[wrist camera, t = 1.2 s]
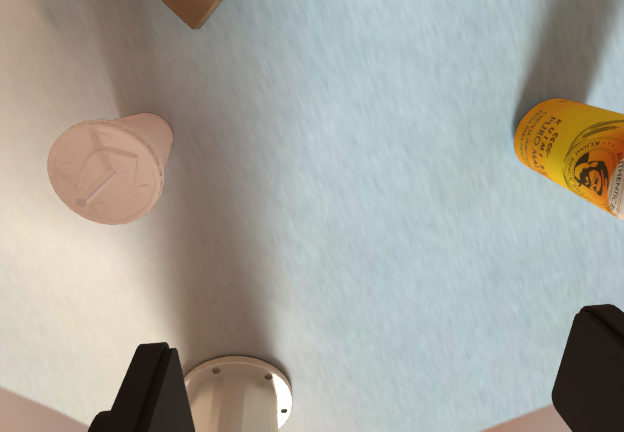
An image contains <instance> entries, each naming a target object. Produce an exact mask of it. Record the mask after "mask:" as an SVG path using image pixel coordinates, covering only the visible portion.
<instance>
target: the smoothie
mask: <svg viewBox="0 0 624 432" xmlns="http://www.w3.org/2000/svg"><path fill="white" fill-rule="evenodd" d="M172 143H173V134H172V131H171V129H170V127H169V125H168V124H167V123H166V122H165V121H164V120H163V119H162V118H161V117H159V116H157V115H155V114H151V113H140V114H136V115H132V116H128V117H124V118H120V119H116V120H112V121H107V120H92V121H85V122H82V123H80V124H77V125H75V126H73V127H71V128H70V129H69V130H68V131H66V132H65V133H63V134H62V135H61V136H60V137H59V138H58V139H57V140H56V141H55V143H54V144H53V146H52V148H51V150H50V153H49V157H48V174H49V179H50V182H51V184H52V186H53V188H54V190H55V192H56V194H57V195H58V196H59V198H60V199H61V200H62V201H63V202H64V203H65V204H66V205H67V206H68V207H69V208H70V209H71V210H73V211H74V212H75V213H77V214H79V215H80V216H82V217H84V218H86V219H89V220H91V221H94V222H98V223H102V224H110V225H116V224H125V223H129V222H132V221H135V220H137V219H139V218H141V217H142V216H144V215H145V214H146V213H147V212H148V211H149V210H150V209H151V208H152V207H153V206H154V205H155V203H156V202H157V201H158V199H159V198H160V196H161V193H162V190H163V187H164V168H165V165H166V162H167V159H168V156H169V153H170V150H171V147H172Z"/></svg>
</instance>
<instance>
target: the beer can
mask: <svg viewBox="0 0 624 432" xmlns="http://www.w3.org/2000/svg"><path fill="white" fill-rule="evenodd" d="M514 149H515V153H516V155H517V157H518V159H519V160H520V161H521V162H522V163H523V164H524V165H526V166H528V167H529V168H531V169H533V170H535V171H536V172H538V173H540V174H542V175H543V176H545V177H547V178H549V179H550V180H552V181H554V182H556V183H557V184H559V185H561V186H563V187H565V188H566V189H568V190H570V191H572V192H573V193H575V194H577V195H579V196H580V197H582V198H584V199H586V200H587V201H589V202H591V203H593V204H594V205H596V206H598V207H600V208H602V209H603V210H605V211H607V212H609V213H610V214H612V215H614V216H616V217H617V218H619V219H621V220H623V221H624V114H621V113H617V112H613V111H609V110H605V109H602V108H598V107H594V106H590V105H586V104H583V103H579V102H575V101H571V100H567V99H562V98H555V99H550V100H546V101H544V102H542V103H540V104H538V105H536V106H535V107H533V108H532V109H531V110H530V111H529V112H528V113H527V114H526V115H525V116H524V117H523V119H522V120H521V122H520V123H519V125H518V127H517V130H516V133H515V137H514Z"/></svg>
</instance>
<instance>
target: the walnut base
mask: <svg viewBox="0 0 624 432" xmlns="http://www.w3.org/2000/svg"><path fill="white" fill-rule="evenodd" d="M162 1H163V2H164V3H165V4H166V5H167V6H168V7H169V8H170V9H171V10H172V11H173V12H174V13H176V14H177V15H178V16H179V17H180V18H181V19H182V20H183V21H184V22H185V23H186V24H187V25H188V26H189V27H190V28H191V29H200V28H201V26H202V25H203V24H204V23H205V21H206V20H207V19H208V18H209V16H210V15H211V14H212V13H213V11H214V10H215V9H216V8H217V6H218V5H219V4H220V3H221V1H222V0H162Z"/></svg>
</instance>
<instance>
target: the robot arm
mask: <svg viewBox="0 0 624 432" xmlns="http://www.w3.org/2000/svg"><path fill="white" fill-rule="evenodd" d="M552 402H553V404H554V407H555V409H556V410H557V412H558V413H559V414H560V415H561V417H562V418H563V420H564V421H565V422H566V424H567V425H568V426H569V428H570V429H571V430H572V432H624V312H622V311H621V310H620V309H619V308H617V307H616V306H614V305H611V304H603V305H592V306H584V307H583V308H582V309H581V310H580V312H579V313H578V314H576V315H575V317H574V320H573V324H572V327H571V330H570V334H569V337H568V340H567V344H566V347H565V350H564V354H563V357H562V360H561V364H560V367H559V370H558V374H557V377H556V380H555V384H554V387H553V390H552ZM291 408H292V391H291V387H290V384H289V382H288V380H287V379H286V377H285V376H284V375H283V374H282V373H281V372H280V371H279V370H278V369H277V368H275V367H274V366H272V365H271V364H268V363H266V362H264V361H262V360H258V359H255V358H251V357H243V356H227V357H221V358H216V359H213V360H210V361H207V362H205V363H203V364H201V365H199V366H197V367H196V368H194V369H193V370H192V371H190V372H189V373H188V374H187V375H186V377H185V378H183V373H182V369H181V364H180V360H179V355H178V351H177V349H176V348H170V349H169V346H168V344H167V342H161V343H150V344H140V345H139V346H138V347H137V349H136V351H135V354H134V356H133V358H132V361H131V363H130V366H129V368H128V370H127V373H126V375H125V378H124V380H123V382H122V385H121V387H120V389H119V392H118V394H117V397H116V399H115V401H114V404H113V406H112V409H111V410H110V411H102V412H99V413H98V414H97V415H96V416H95V418H94V420H93V421H92V423H91V425H90V427H89V430H88V432H279V427H280V426H281V425H282V424H283V423H284V422H285V421H286V419H287V418H288V416H289V414H290V411H291Z"/></svg>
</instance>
